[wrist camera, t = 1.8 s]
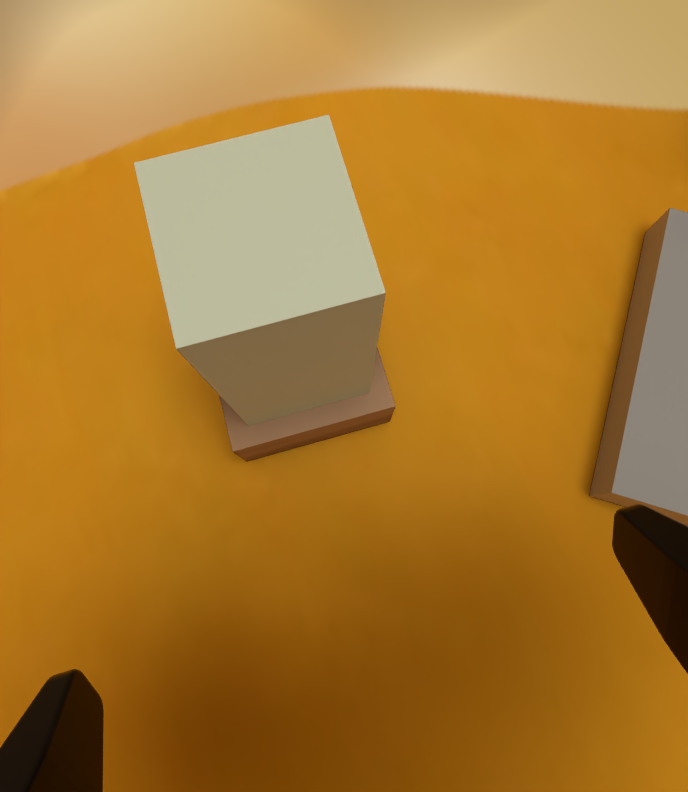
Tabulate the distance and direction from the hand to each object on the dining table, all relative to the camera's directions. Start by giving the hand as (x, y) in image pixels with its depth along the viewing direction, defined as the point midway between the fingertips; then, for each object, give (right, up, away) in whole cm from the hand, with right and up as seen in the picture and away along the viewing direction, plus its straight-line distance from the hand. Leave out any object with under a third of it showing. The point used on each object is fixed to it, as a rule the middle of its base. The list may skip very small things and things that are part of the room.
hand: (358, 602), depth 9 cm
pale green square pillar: (-2, +5, +12) cm, 13 cm away
